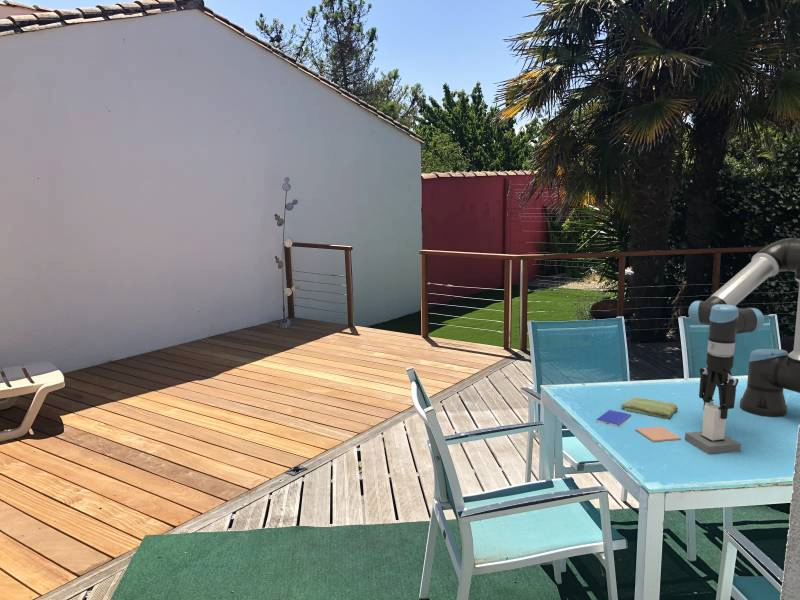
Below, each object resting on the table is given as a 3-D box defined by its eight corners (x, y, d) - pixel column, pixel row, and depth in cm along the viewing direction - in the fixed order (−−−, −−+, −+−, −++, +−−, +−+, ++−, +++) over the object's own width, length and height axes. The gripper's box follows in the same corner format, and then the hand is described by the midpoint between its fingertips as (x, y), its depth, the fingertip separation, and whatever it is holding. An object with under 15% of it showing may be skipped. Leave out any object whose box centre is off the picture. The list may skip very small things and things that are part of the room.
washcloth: (630, 401, 234) (631, 393, 234) (678, 411, 223) (679, 403, 223) (619, 411, 224) (620, 402, 224) (669, 421, 213) (670, 413, 213)
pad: (661, 428, 206) (662, 426, 206) (680, 439, 196) (680, 438, 196) (635, 430, 204) (635, 428, 204) (653, 442, 195) (653, 440, 195)
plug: (713, 433, 194) (715, 404, 192) (724, 438, 190) (726, 409, 188) (701, 435, 193) (704, 405, 191) (712, 440, 189) (715, 410, 187)
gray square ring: (715, 437, 198) (715, 430, 198) (740, 451, 188) (741, 443, 187) (684, 439, 196) (685, 432, 196) (708, 454, 185) (709, 446, 185)
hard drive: (609, 409, 222) (595, 418, 212) (631, 414, 217) (618, 424, 207) (608, 413, 222) (595, 423, 213) (631, 418, 217) (618, 428, 207)
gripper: (689, 348, 194) (684, 416, 198) (733, 362, 177) (725, 436, 181) (708, 346, 196) (703, 413, 200) (753, 360, 179) (745, 433, 183)
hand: (713, 424), depth 191 cm, fingers closed on plug, 4 cm apart
